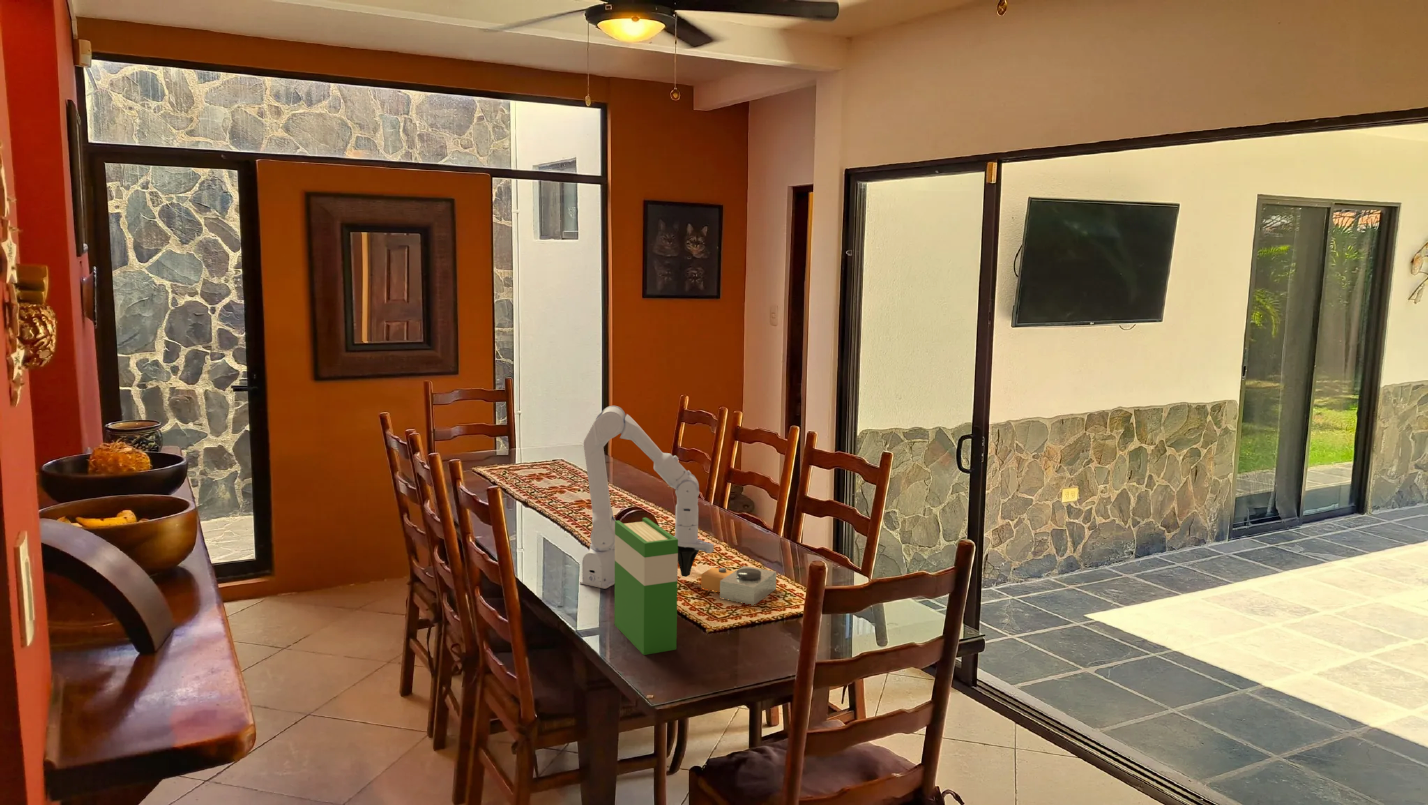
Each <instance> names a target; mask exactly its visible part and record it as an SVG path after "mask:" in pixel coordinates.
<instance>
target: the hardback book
mask: <svg viewBox="0 0 1428 805" xmlns="http://www.w3.org/2000/svg"><path fill="white" fill-rule="evenodd" d="M674 536H675V535H673V534H671V533H669V531H667V530H665V529H664V528H662V527H661V526H659V525H658V524H657V523H655V522H654V521H653V520H651V519H650V518H648V517H642V521H635V522H628V523H623V522H622V521H620V520H616V521H615V584H614V614H613V615H614V620H613V621H614V626H615V627H616V628H617V629H618V630H619V631H620V632H621V633H622V634H623V635H624V636H625V638H627V640H629V641H630V643H631V644H632V645H633V646H634V647H635V648H636V649H637V650H638V651H639V652H640V653H641V654H642V655H643V656H646V655H652V654H659V653H663V652H668V651H669V652H670V651H675V650H677V633H678V630H677V629H678V627H677V626H678V574H679V573H678V568H679V567H678V566H679V564H678V539H677V538H675V537H674Z"/></svg>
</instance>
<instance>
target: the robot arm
mask: <svg viewBox="0 0 1428 805" xmlns="http://www.w3.org/2000/svg"><path fill="white" fill-rule="evenodd" d="M618 435H620V437H619V439H623V440H629V441H632V442H633V443H634V444H635V445H636V446H637V447H638V448H639V449H640V450H641V451H642V452H643V453H644V454H645V455H646V456H647V457H648V458H649V459H650V460H651V461H652V462H653V470H654V472H656V473H657V474H658V475H659V476H660V478H662V480H663V481H664V482H665V483H666V484H667V485H668V486H669V487H670V488H672V489H674V490H675V491H674V492H675V496H676V504H675V524H674V526H675V527H674V530H675V531H674V533H675V534H674V535H673V536H674V537H675V538H677V539H678V566H679V567H678V568H679V570H680V571H679V572H680V574H681V577H684V578H687V577H688V576H689V577H690V576H691V571H692V566H693V564H694V562H695V559H696V557H697V555H698V554H699V552H700V551H701V552H706V553H707V554H711V553H713V552H714V549H715V548H714V543H710V542H707V541H705V540H701V539H699V538H698V537H699V505H698V504H699V495H700V484H699V481H698V479H697V478H696V476H695V474H692V472H691V471H690V470H689V469H688V470H687V469H686V468H685V467H684V466H683V465H682V464H681V463H680V462H679V457H678V456H677V455H673V454H672V453H668V452H663V451H662V450H661V449H660V447H658V445H657V444H656V443H655V442H654V441H653V440H652V439H651V437H650V436H649V435H648V434H647V433H646V432H645V430H643V428H642V427H641V426H640V425H639V424H638V423H637V422H636V421H635V420H634V418H632V417H631V415H629V414H628V413H625V411H624V410H623V408H622V407H620V406H617V405H609V406H607V407H605V408H604V409H603V410H602V411H601V412H599V414H598V415H597V416H596V418H595V420H594V421H593V424H592V426H591V427H590V429H589V430H588V433H587V435H586V437H585V438H584V440H583V451H584V457H585V464H586V473H587V474H586V475H587V480H588V481H587V482H588V489H589V496H590V503H591V510H592V514H591V516H592V517H591V518H592V519H591V522H592V530H591V533H590V536H589V537H590V545H589V546H590V547H589V550H588V552H586V554H585V555H583V557H582V562H581V563H582V566H581V567H582V569H581V570H582V572H581V573H582V574H581V575H582V576H581V577H582V578H581V580H580V581H579V584H582V585H586V586H589V587H590V586H591V587H595V588H599V589H605V590H606V589H608V588H610V587H612V586H613V585H614V586H615V521H617V520H616V518H615V516H614V512H613V511H614V510H613V508H612V505H611V504H612V503H611V496H610V488H609V483H608V482H609V481H608V480H609V479H608V473H607V466H606V465H607V464H606V458H605V457H606V456H605V451H604V450H605V449H604V448H605V446H606V445H607V443H608V442H610V440H612V439H614V438H615V437H617V436H618Z"/></svg>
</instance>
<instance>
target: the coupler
mask: <svg viewBox="0 0 1428 805" xmlns="http://www.w3.org/2000/svg"><path fill="white" fill-rule="evenodd" d="M776 589H777V571H775V570H768V569H763V568H757V567H751V566H747V565H743V566H741V567H739V568H738V569H736V570H735V571H734V572H733V573H732V574H730V575H729V576H727V577H725V578H724V579H722V580H721V581H720V593H719V598H720V597H721V598H724V599H729V600H732V601H731V602H733V601H736V602H735V603H738V602H742V603H741V604H743V603H745V604H744V605H748V604H751V605H750V606H753V605H754V604H755V605H756V604H758V603H759V602H760V601H762V600H763V599H764V598H766V597H768V595H770V594H771V593H773V592H774V591H775V590H776ZM724 599H723V600H724ZM729 600H728V601H729ZM755 605H754V606H755Z"/></svg>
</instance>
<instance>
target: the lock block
mask: <svg viewBox="0 0 1428 805" xmlns="http://www.w3.org/2000/svg"><path fill="white" fill-rule="evenodd" d="M733 572H735V571H734V570H733V571H732V570H728V569H726V567H725V568H724V567H720V568H717V567H711V568H710V569H708V570H706V571H705V572H703V573H701V574H700V575H701V577H700V579H701V580H700V583H701V584H700V589H701V588H704V589H708V590H714V591H717V592H720V581H721V580H722V579H724V578H725V577H727V576H729V575H730V574H732V573H733Z"/></svg>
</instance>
